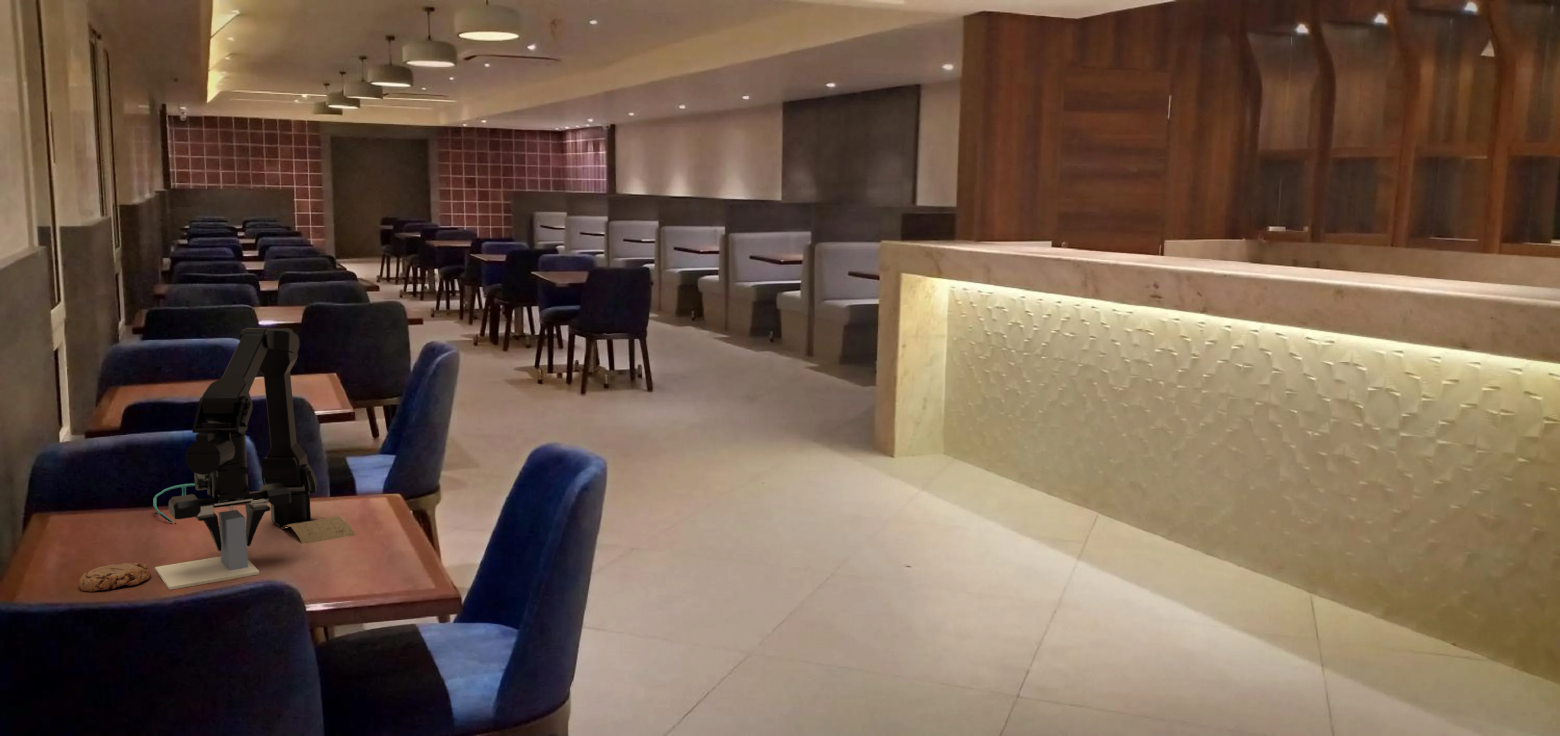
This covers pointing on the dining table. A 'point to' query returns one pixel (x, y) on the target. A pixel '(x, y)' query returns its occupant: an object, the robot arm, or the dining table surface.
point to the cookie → (114, 576)
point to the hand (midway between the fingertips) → (233, 547)
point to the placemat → (201, 572)
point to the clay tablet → (322, 529)
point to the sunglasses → (167, 490)
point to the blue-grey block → (233, 539)
